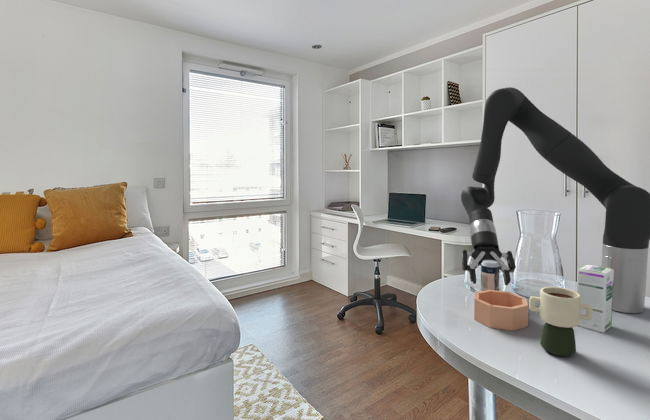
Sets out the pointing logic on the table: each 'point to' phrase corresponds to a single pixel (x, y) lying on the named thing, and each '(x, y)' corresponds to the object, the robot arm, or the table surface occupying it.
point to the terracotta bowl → (501, 310)
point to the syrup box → (596, 296)
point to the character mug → (559, 318)
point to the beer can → (489, 275)
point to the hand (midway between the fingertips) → (490, 283)
